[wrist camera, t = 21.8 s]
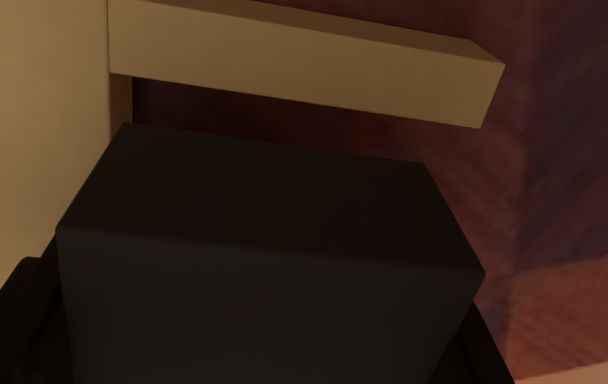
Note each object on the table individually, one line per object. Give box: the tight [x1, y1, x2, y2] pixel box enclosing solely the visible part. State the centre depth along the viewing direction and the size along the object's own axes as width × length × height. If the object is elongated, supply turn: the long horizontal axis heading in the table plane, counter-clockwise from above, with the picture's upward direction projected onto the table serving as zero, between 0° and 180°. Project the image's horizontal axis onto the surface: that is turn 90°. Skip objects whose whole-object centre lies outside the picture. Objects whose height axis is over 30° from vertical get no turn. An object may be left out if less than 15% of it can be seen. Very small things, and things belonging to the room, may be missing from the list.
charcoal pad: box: [55, 122, 485, 384], centre depth 9 cm, size 6×6×3 cm
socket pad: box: [0, 0, 505, 289], centre depth 12 cm, size 11×10×2 cm
